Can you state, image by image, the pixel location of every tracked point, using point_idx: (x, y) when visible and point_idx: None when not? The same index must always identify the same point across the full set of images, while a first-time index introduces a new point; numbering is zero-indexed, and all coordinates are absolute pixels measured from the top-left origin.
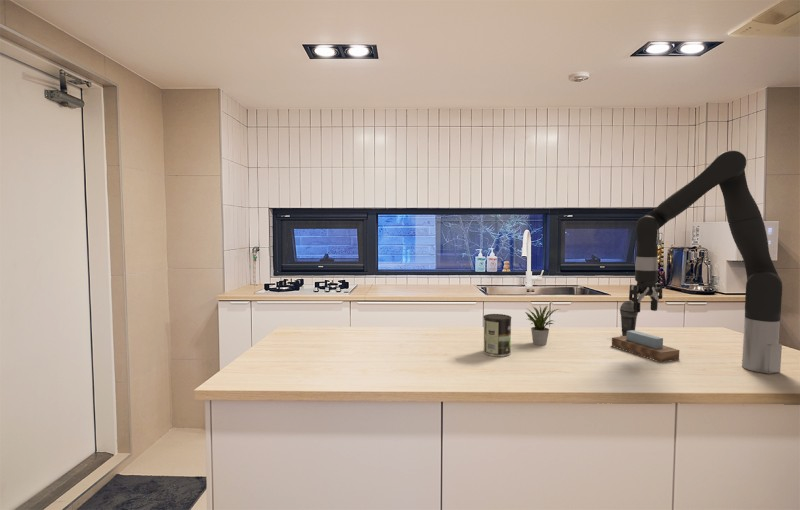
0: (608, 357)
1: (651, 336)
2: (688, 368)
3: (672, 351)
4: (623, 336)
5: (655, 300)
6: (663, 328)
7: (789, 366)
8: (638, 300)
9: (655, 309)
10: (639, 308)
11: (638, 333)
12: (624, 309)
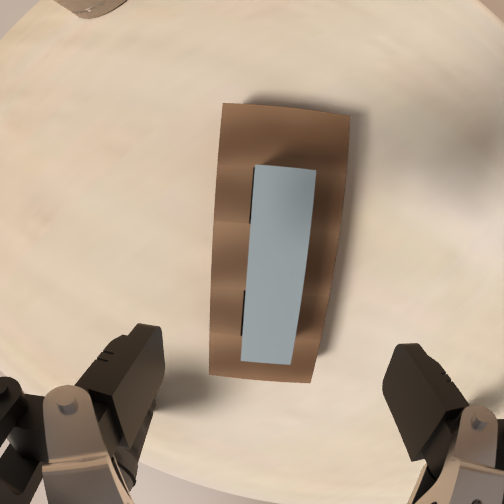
0: (448, 263)
1: (282, 224)
2: (309, 36)
3: (272, 106)
4: (247, 375)
5: (101, 412)
6: (6, 372)
7: (33, 10)
8: (493, 422)
9: (156, 331)
10: (425, 364)
11: (285, 305)
12: (128, 481)
